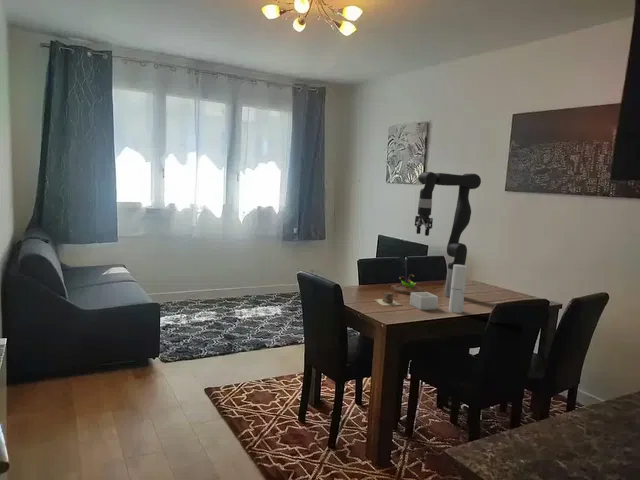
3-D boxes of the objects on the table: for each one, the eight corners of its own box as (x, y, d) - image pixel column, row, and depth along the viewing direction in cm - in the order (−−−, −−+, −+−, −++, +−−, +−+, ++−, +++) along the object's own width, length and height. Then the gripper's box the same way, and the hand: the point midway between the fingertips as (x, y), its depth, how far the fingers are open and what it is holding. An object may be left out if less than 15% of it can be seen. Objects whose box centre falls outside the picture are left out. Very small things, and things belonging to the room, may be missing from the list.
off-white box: (425, 304, 262) (426, 292, 261) (436, 309, 252) (438, 296, 251) (409, 304, 258) (410, 292, 257) (420, 310, 248) (421, 297, 247)
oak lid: (391, 300, 267) (392, 290, 266) (402, 306, 256) (403, 295, 255) (372, 301, 262) (373, 290, 262) (383, 307, 251) (384, 296, 251)
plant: (428, 296, 283) (430, 278, 282) (397, 295, 281) (398, 276, 279) (417, 288, 303) (419, 271, 301) (388, 287, 300) (390, 270, 299)
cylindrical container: (446, 309, 254) (451, 264, 251) (459, 309, 254) (464, 264, 251) (451, 312, 247) (456, 266, 244) (464, 313, 247) (469, 267, 244)
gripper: (437, 208, 263) (435, 236, 265) (423, 206, 276) (420, 233, 278) (426, 207, 260) (424, 236, 262) (412, 205, 273) (410, 233, 275)
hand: (422, 234), depth 270 cm, fingers open, 8 cm apart
